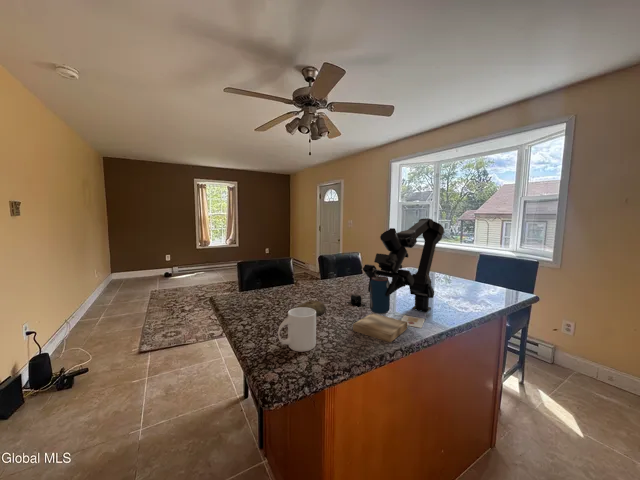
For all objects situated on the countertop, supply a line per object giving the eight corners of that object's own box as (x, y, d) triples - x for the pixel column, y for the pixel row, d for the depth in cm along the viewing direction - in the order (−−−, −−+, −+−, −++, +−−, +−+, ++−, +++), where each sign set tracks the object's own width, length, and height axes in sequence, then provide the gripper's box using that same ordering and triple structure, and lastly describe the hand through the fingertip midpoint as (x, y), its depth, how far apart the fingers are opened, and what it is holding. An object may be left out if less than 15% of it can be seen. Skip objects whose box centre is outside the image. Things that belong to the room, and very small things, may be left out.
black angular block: (370, 306, 119) (370, 297, 119) (358, 309, 115) (359, 299, 115) (352, 300, 129) (353, 291, 129) (341, 302, 125) (341, 293, 125)
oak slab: (372, 319, 102) (372, 313, 102) (407, 328, 93) (407, 321, 93) (353, 330, 91) (353, 323, 91) (390, 342, 82) (390, 334, 82)
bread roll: (313, 319, 103) (313, 307, 102) (291, 312, 110) (291, 301, 110) (332, 310, 113) (332, 299, 112) (310, 305, 120) (310, 294, 120)
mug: (273, 344, 81) (273, 311, 80) (309, 337, 86) (309, 305, 85) (282, 357, 73) (282, 320, 72) (320, 348, 78) (320, 313, 78)
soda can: (393, 311, 92) (394, 278, 91) (381, 316, 87) (381, 281, 87) (378, 306, 97) (378, 275, 96) (365, 310, 93) (365, 277, 92)
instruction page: (404, 315, 106) (404, 315, 106) (425, 319, 102) (425, 318, 102) (398, 323, 98) (398, 323, 98) (421, 328, 94) (421, 327, 94)
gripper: (365, 243, 100) (346, 276, 93) (410, 247, 86) (392, 285, 80) (377, 261, 106) (360, 293, 99) (421, 267, 92) (404, 304, 86)
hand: (377, 293), depth 91 cm, fingers closed on soda can, 7 cm apart
